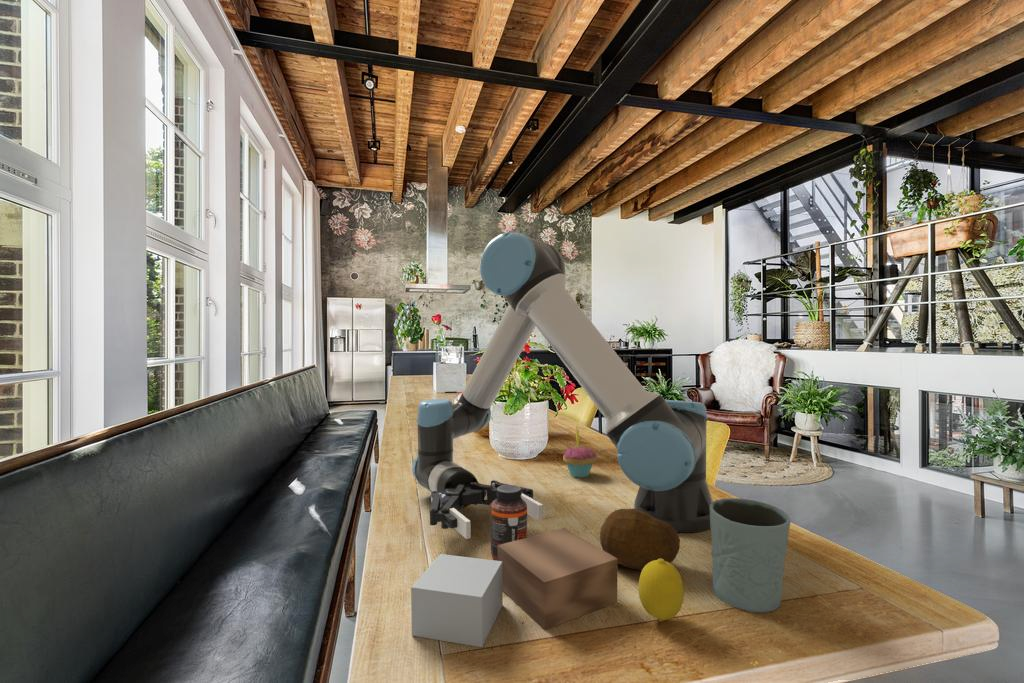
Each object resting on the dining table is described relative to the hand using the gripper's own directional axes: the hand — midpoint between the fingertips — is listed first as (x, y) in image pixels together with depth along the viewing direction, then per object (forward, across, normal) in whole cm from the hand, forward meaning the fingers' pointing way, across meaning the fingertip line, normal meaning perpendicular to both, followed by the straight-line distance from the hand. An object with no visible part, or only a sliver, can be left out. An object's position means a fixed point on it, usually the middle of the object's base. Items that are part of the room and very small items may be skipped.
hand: (506, 521), depth 80 cm
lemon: (+25, -8, -6) cm, 27 cm away
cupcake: (-29, -38, -6) cm, 48 cm away
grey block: (+12, +14, -6) cm, 19 cm away
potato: (+13, -16, -6) cm, 22 cm away
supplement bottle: (0, 0, -6) cm, 6 cm away
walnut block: (+13, 0, -6) cm, 14 cm away
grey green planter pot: (+27, -23, -6) cm, 36 cm away
